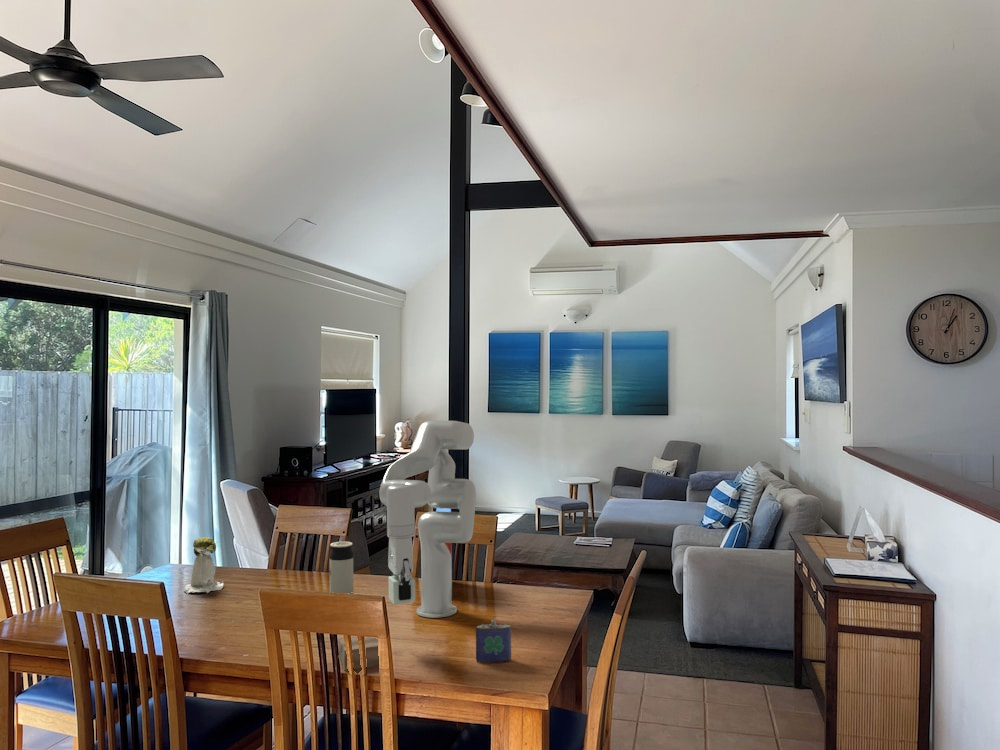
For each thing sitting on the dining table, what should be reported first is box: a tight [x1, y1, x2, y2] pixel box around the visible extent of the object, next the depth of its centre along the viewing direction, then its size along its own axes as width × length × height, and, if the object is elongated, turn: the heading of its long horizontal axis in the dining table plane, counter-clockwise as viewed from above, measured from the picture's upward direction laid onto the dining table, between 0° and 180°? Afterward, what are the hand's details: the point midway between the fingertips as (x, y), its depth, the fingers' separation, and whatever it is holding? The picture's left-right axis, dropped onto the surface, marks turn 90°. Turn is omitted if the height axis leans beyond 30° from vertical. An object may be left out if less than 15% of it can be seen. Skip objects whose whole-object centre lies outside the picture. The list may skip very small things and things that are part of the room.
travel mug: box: [329, 540, 354, 594], centre depth 254 cm, size 8×8×18 cm
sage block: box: [387, 575, 416, 605], centre depth 203 cm, size 6×6×6 cm
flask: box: [475, 618, 512, 664], centre depth 193 cm, size 9×3×11 cm, turn 95°
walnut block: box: [337, 635, 380, 671], centre depth 193 cm, size 10×10×5 cm
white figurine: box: [183, 536, 224, 595], centre depth 264 cm, size 12×13×18 cm
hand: (401, 595), depth 203 cm, fingers closed on sage block, 6 cm apart
